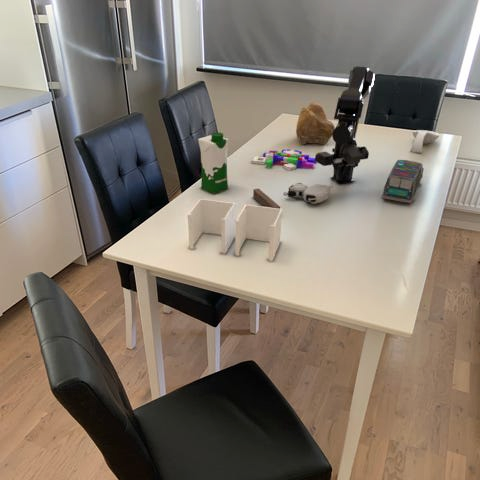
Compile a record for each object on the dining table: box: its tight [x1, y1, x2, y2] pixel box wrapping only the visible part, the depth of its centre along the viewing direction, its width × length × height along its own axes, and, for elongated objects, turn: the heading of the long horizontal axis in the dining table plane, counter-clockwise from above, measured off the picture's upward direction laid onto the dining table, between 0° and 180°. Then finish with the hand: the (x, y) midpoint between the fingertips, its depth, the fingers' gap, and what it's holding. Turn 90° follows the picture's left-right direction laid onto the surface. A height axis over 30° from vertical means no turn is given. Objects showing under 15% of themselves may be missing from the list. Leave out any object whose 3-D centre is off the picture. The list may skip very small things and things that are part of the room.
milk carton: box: [197, 131, 230, 195], centre depth 169 cm, size 9×9×20 cm
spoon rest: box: [409, 129, 440, 154], centre depth 213 cm, size 24×12×7 cm, turn 152°
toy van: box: [381, 159, 425, 204], centre depth 172 cm, size 11×25×10 cm, turn 155°
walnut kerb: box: [252, 188, 281, 209], centre depth 163 cm, size 2×16×3 cm, turn 24°
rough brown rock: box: [295, 102, 336, 146], centre depth 213 cm, size 23×17×15 cm
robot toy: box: [282, 182, 334, 205], centre depth 168 cm, size 12×4×15 cm
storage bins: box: [187, 198, 283, 262], centre depth 140 cm, size 25×11×11 cm, turn 75°
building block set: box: [251, 148, 317, 171], centre depth 197 cm, size 25×20×4 cm
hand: (338, 179), depth 170 cm, fingers closed
